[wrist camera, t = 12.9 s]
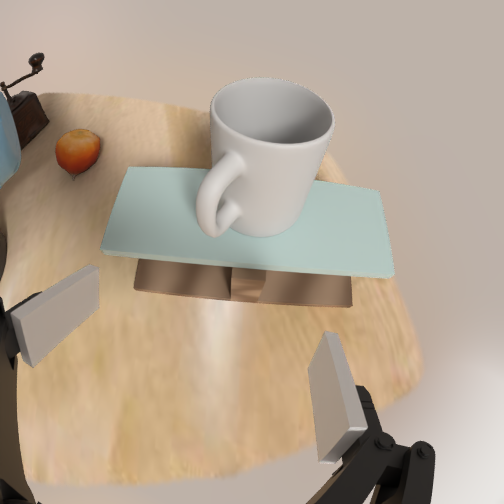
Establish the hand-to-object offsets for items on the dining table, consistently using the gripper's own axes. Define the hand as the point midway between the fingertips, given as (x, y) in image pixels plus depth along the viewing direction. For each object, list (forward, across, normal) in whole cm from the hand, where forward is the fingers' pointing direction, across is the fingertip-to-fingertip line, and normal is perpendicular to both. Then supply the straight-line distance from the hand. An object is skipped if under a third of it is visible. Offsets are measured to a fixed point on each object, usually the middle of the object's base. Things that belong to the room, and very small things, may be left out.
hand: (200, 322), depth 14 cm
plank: (+14, +1, +3) cm, 14 cm away
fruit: (+26, -30, +4) cm, 40 cm away
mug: (+13, 0, +4) cm, 14 cm away
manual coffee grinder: (+33, -56, +11) cm, 66 cm away
